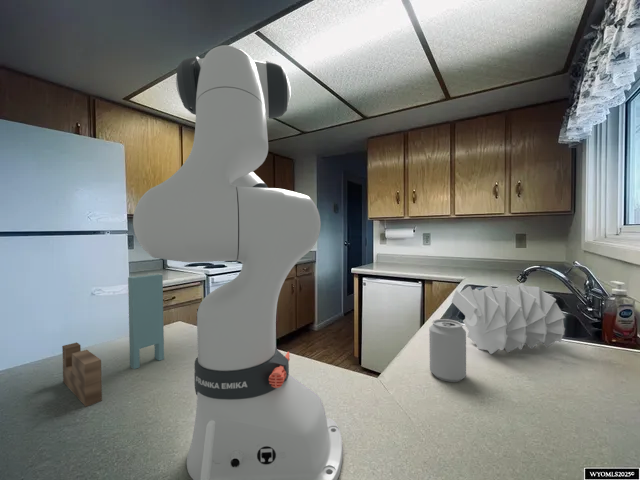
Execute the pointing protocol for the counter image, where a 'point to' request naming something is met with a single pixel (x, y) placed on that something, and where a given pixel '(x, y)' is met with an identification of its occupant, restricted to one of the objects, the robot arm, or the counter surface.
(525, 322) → the spiral staircase
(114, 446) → the counter surface
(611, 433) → the counter surface
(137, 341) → the teal plate
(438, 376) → the can
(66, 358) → the notched walnut block
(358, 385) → the counter surface
